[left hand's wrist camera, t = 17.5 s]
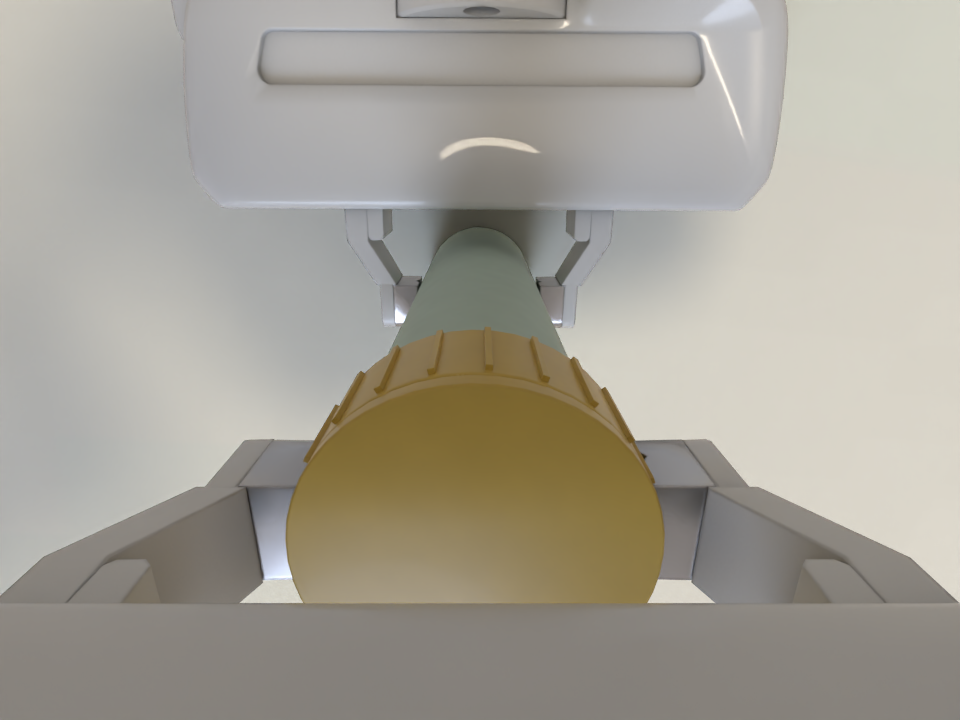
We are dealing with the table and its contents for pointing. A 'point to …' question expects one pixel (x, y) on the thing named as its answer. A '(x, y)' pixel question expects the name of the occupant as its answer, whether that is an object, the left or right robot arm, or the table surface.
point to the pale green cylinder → (478, 292)
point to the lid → (475, 483)
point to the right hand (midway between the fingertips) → (479, 323)
